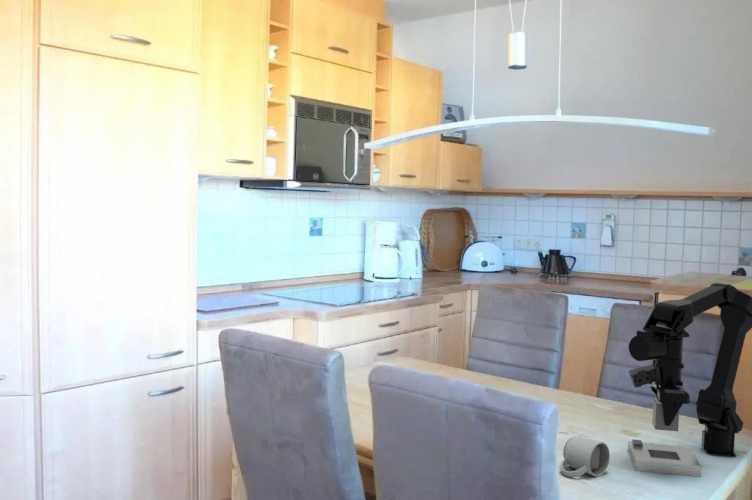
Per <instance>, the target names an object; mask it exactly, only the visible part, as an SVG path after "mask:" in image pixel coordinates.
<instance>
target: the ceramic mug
mask: <svg viewBox="0 0 752 500" xmlns="http://www.w3.org/2000/svg"><path fill="white" fill-rule="evenodd" d="M562 453H563V454H562V455H563V460H562V461H561V463H560V465H559V466H560V470H561V473H562V474H563V475H564V476H565V477H567V478H578V477H581V476H583V475H585V474H587V475H590V476H593V477H600V476H602V475H603V474H605V472H606V470H607V469H608V467H609V464H610V459H611V458H610V457H611V454H610V448H609V446H608V445H607V444H606V442H603V441H601V440H595V439H592V438H589V437H583V436H577V435H576V436H574V435H573V436H572V437H569V439H567V440H566V442H565V444H564V447H563V451H562ZM567 465H568V466H569V467H571V468H573V469H575V470H572V471H567V470H566V469H565V467H566V466H567Z"/></svg>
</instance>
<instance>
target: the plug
mask: <svg viewBox="0 0 752 500" xmlns="http://www.w3.org/2000/svg"><path fill="white" fill-rule="evenodd" d="M652 403H653V404H652V405H653V406H652V407H653V408H652V426H653V428H654V430H658V431H659V430H660V431H668V432H679V425H680V424H679V422H680V410H679V411H678V413H677V414H676V416H675V418H674V420H673V421H672V423H671V425H670V426H666V425H665V423H664V416H663V409H662V403H661V402H660V401H658V399H657V398H656V396H654V399H653V402H652Z"/></svg>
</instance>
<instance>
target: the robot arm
mask: <svg viewBox="0 0 752 500" xmlns="http://www.w3.org/2000/svg"><path fill="white" fill-rule="evenodd" d="M715 307H717V308H719V309H720V313H719V318H720V321H721V323H722V326H723V332H722V334H721V335H722V336H721V340H720V344H719V347H718V348H719V349H718V352H717V356H716V359H715V360H716V361H715V364H714V369H713V372H712V377H711V381H710V384H709V385H708V386H707V387H706V388H705V389H704V388H701V389H699V391H698V397H697V401H696V402H695V405H696V407H695V412H696V414H697V421H698V423H699V424H700V425H703V426H704V430H702V431H701V432H702V433H701V447H702V449H703V450H704V451H705V453H706V454H707V455H710V456H721V457H723V456H724V457H732V458H735V457H736V456H737V454H736V453H735V438H736V437H735V436H736V434H739V433H740V432H742V430H743V426H744V422H743V420H742V419H741V417H740V416H739V414H738V413H737V412H736V410H737V400H736V398H735V394H734V392H733V388H734V386H735V385H734V384H735V381H736V376H737V373H738V367H739V364H740V359H741V357H742V350H743V348H744V342H745V339H746V335H747V334H748V332H749V331H750V330H751V329H752V296H751V295H749V294H747V293H745V292H743V291H741V290H739V289H738V288H736V287H735V286H733V285H732V284H728V283H720V282H715V283H711V284H710V285H709V286H707V287H706V288H704V289H701V290H699V291H697V292H694V293H692V294H690V295H688V296H685V297H684V298H681V299H669V300H665V301H660V302H658V303H656V304H655V305H654V308H653V309H652V311H651V313H650V315H649V317H648V318H647V321H645V324H644V326H643V328H642V329H640V330H639V329H638V330H637V331H636V335H635V336H633V337H632V338H631V339H630V341H629V343H628V352H629V355H630V356H631V357H632V358H633V360H635V361H638V362H645V361H652V364H649V365H644V366H639V367H636V368H633V369H630V370H629V371H628V373H629V377H630V380H631V383H632V385H633V387H634V388H640V387H642V386H644V385H645V386H646V385H652V384H653V386H650V387H649V388H650V389H651V391H652V392H653V393H654V394H655V397H656V398H657V399H658V401H660V402H661V403H662V409H663V416H664V423H665V425H666V426H670V425H671V423H672V421H673V420H674V418H675V416H676V414H677V413H678V411H679V412H680V409H681V408H682V407H683V405H689V404H690V400H691V399H690V396H691V395H690V394H689V393H688V391H687V390H686V389H685V388H684V387H683V386H684V381H683V380H682V371H683V370H682V369H684V366H685V364H684V362H683V350H684V349H683V348H684V347H683V346H684V338H689V337H690V334H689V333H688V332H687V330H685V329H686V328H687V327H689V326H690V325H691V324H692V323H694V318H695V317H696V316H698V315H701V314H702V313H704V312H707V311H709V310H711V309H712V308H713V309H714V308H715Z"/></svg>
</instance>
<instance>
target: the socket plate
mask: <svg viewBox="0 0 752 500" xmlns="http://www.w3.org/2000/svg"><path fill="white" fill-rule="evenodd" d="M627 442H628V443H627V444H628V445H627V452H628V455H629V457H630V460H631V463H632V466H633V468H634V471H639V472H648V473H650V472H651V473H660V474H670V475H681V476H691V477H699V478H701V476H702V465H701V463H700V461H699V460H698V459H697V457H696V456H695V454H694V453H693V451H692V449H691V447H690V446H684V445H674V444H663V443H662V444H661V443H652V442H642V440H641V439H632V441H631V440H630V441H629V440H628V441H627Z"/></svg>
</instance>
